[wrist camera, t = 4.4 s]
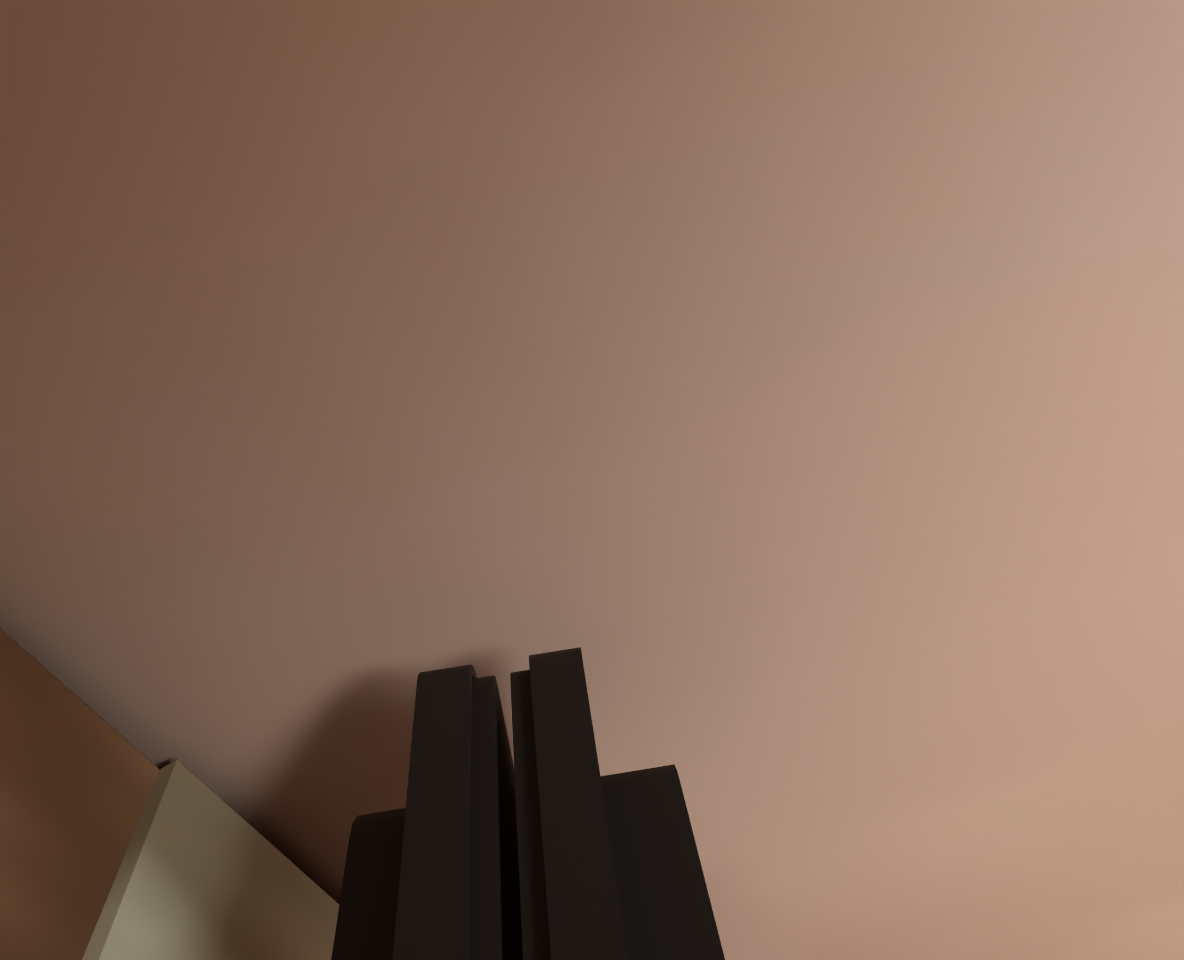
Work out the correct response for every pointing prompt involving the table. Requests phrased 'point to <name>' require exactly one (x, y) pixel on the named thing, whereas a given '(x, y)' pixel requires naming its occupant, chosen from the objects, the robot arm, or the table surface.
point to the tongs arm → (130, 847)
